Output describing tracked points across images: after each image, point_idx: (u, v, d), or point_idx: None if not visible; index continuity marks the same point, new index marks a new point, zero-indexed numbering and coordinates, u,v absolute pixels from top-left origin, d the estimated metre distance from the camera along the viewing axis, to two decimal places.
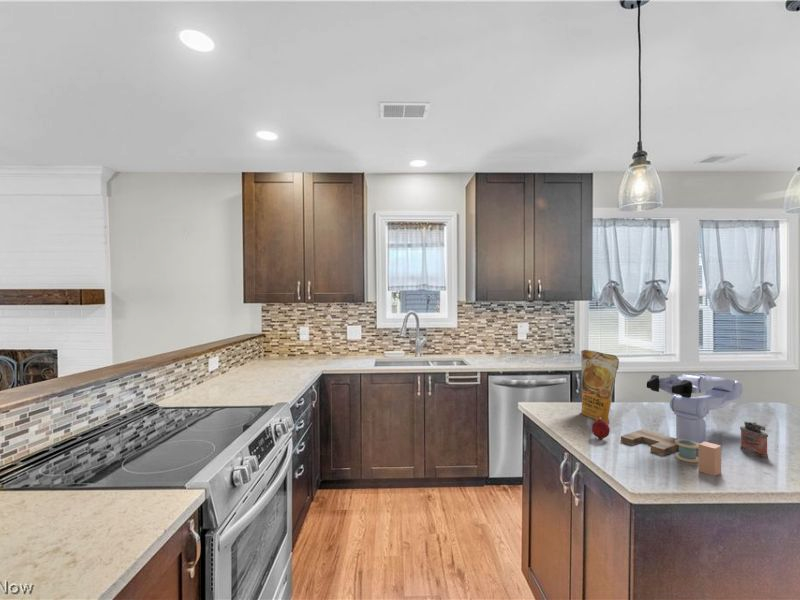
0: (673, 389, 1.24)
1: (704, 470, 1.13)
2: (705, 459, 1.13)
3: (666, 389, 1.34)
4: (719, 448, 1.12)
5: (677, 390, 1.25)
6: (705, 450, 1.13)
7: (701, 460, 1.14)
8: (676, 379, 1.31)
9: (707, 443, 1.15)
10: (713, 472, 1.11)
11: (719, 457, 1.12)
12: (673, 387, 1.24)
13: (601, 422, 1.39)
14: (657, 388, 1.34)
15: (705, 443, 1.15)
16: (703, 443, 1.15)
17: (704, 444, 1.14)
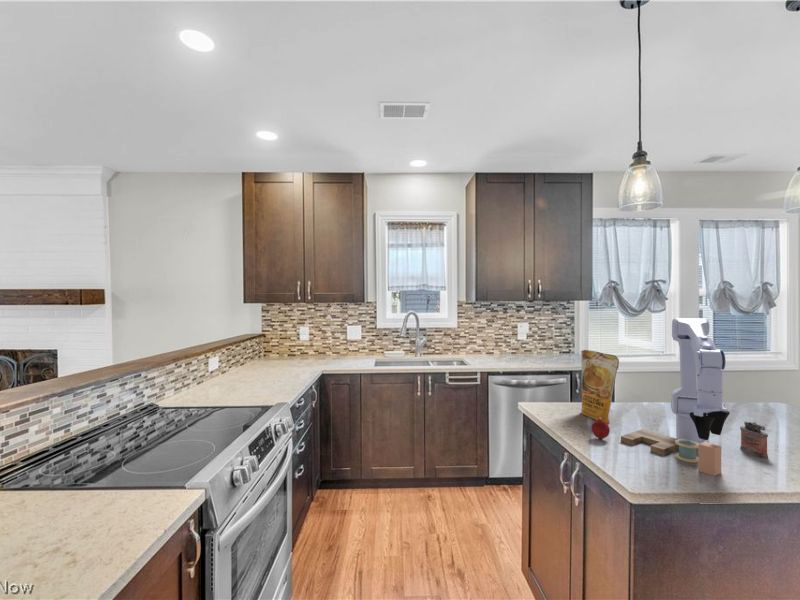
0: None
1: (704, 470, 1.13)
2: (705, 459, 1.13)
3: None
4: (719, 448, 1.12)
5: None
6: (705, 450, 1.13)
7: (701, 460, 1.14)
8: None
9: (707, 443, 1.15)
10: (713, 472, 1.11)
11: (719, 457, 1.12)
12: None
13: (601, 422, 1.39)
14: None
15: (705, 443, 1.15)
16: (703, 443, 1.15)
17: (704, 444, 1.14)
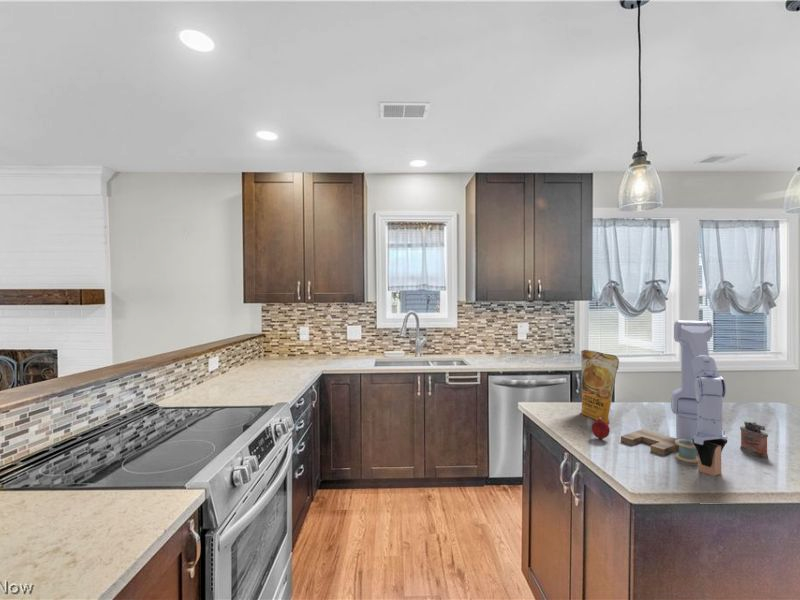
0: None
1: (704, 470, 1.13)
2: None
3: None
4: (719, 448, 1.12)
5: None
6: None
7: None
8: None
9: None
10: (713, 472, 1.11)
11: (719, 457, 1.12)
12: None
13: (601, 422, 1.39)
14: None
15: None
16: None
17: None
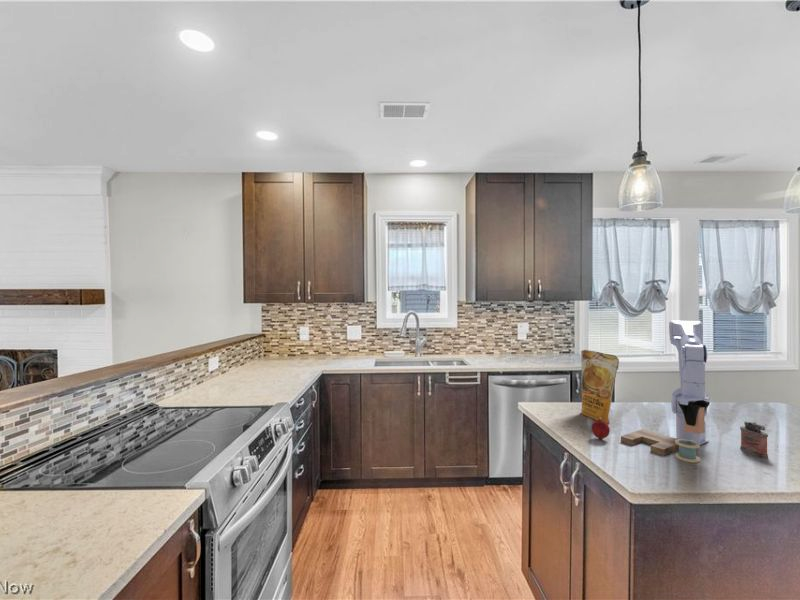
0: None
1: (689, 429, 1.24)
2: None
3: None
4: (702, 409, 1.23)
5: None
6: None
7: None
8: None
9: None
10: (697, 431, 1.22)
11: (702, 417, 1.23)
12: None
13: (601, 422, 1.39)
14: None
15: None
16: None
17: None
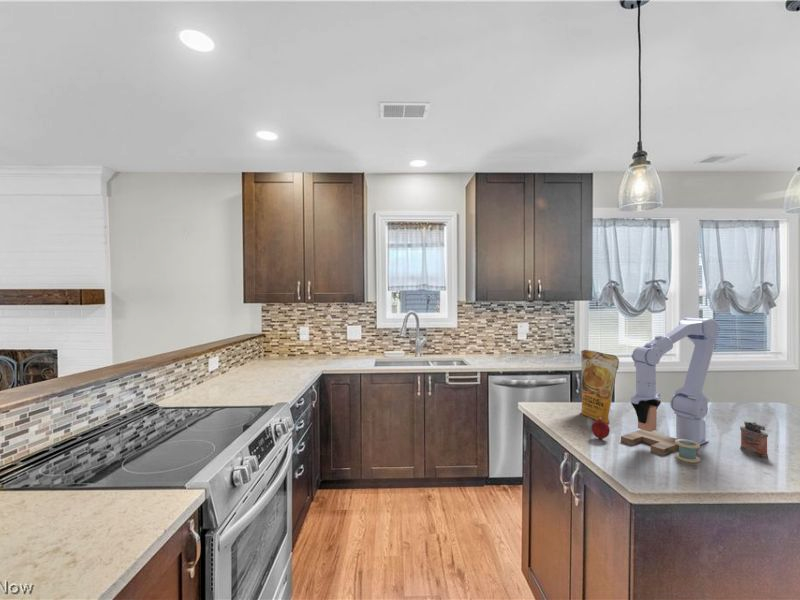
0: None
1: (642, 427, 1.32)
2: None
3: None
4: (654, 408, 1.31)
5: None
6: None
7: None
8: None
9: None
10: (648, 428, 1.30)
11: (654, 416, 1.31)
12: None
13: (601, 422, 1.39)
14: None
15: None
16: None
17: None
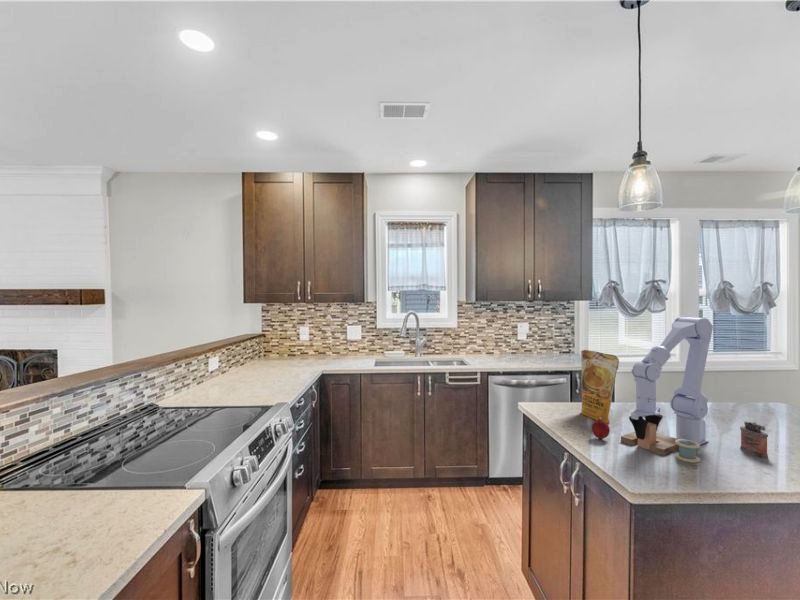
0: None
1: (642, 445, 1.32)
2: None
3: None
4: (654, 426, 1.31)
5: None
6: None
7: None
8: None
9: None
10: (648, 446, 1.30)
11: (654, 434, 1.31)
12: None
13: (601, 422, 1.39)
14: None
15: None
16: None
17: None
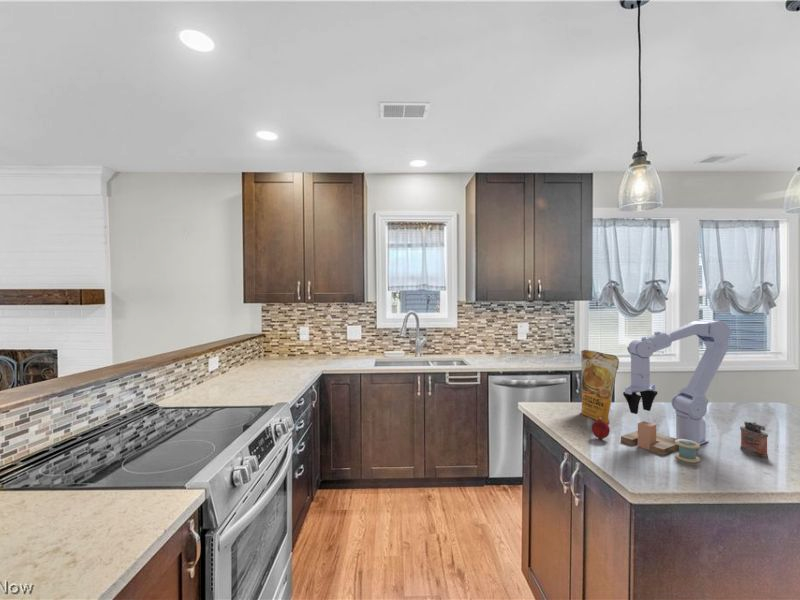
0: None
1: (642, 445, 1.32)
2: (642, 436, 1.32)
3: None
4: (654, 426, 1.31)
5: None
6: (642, 428, 1.32)
7: (639, 437, 1.33)
8: None
9: (645, 422, 1.34)
10: (648, 446, 1.30)
11: (654, 434, 1.31)
12: None
13: (601, 422, 1.39)
14: None
15: (643, 422, 1.34)
16: (642, 422, 1.34)
17: (642, 423, 1.33)
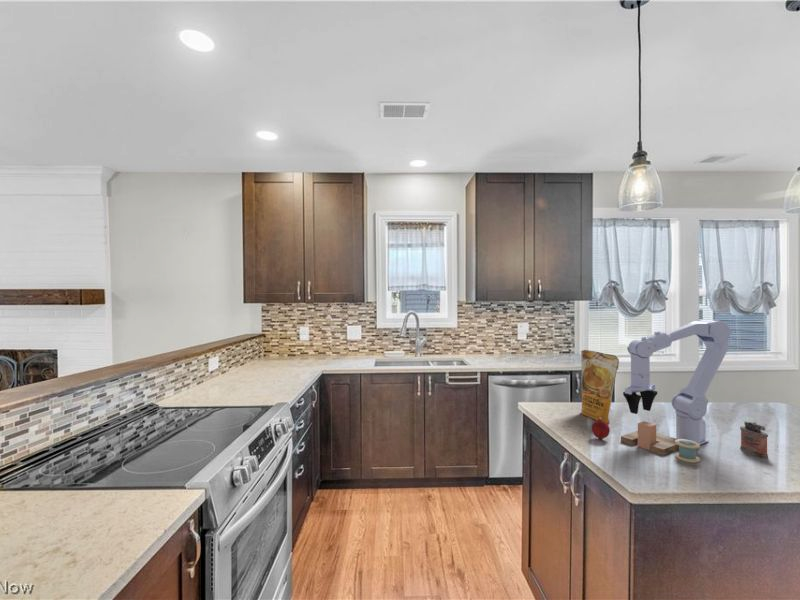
0: None
1: (642, 445, 1.32)
2: (642, 436, 1.32)
3: None
4: (654, 426, 1.31)
5: None
6: (642, 428, 1.32)
7: (639, 437, 1.33)
8: None
9: (645, 422, 1.34)
10: (648, 446, 1.30)
11: (654, 434, 1.31)
12: None
13: (601, 421, 1.39)
14: None
15: (643, 422, 1.34)
16: (642, 422, 1.34)
17: (642, 423, 1.33)
